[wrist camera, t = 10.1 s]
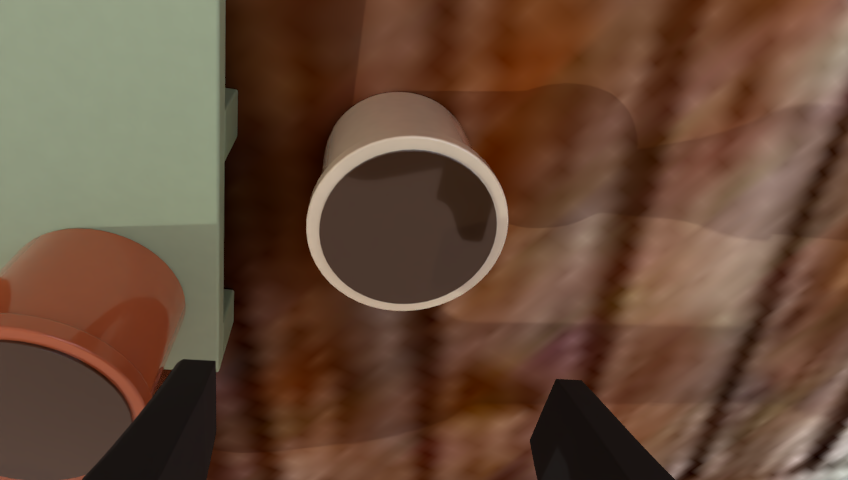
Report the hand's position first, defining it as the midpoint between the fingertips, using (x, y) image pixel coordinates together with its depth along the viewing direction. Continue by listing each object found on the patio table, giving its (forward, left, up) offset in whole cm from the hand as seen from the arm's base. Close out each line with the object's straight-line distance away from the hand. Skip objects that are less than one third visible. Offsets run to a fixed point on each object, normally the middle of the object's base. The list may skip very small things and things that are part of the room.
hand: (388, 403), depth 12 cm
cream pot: (+1, +2, -9) cm, 9 cm away
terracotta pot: (-8, -3, -6) cm, 11 cm away
